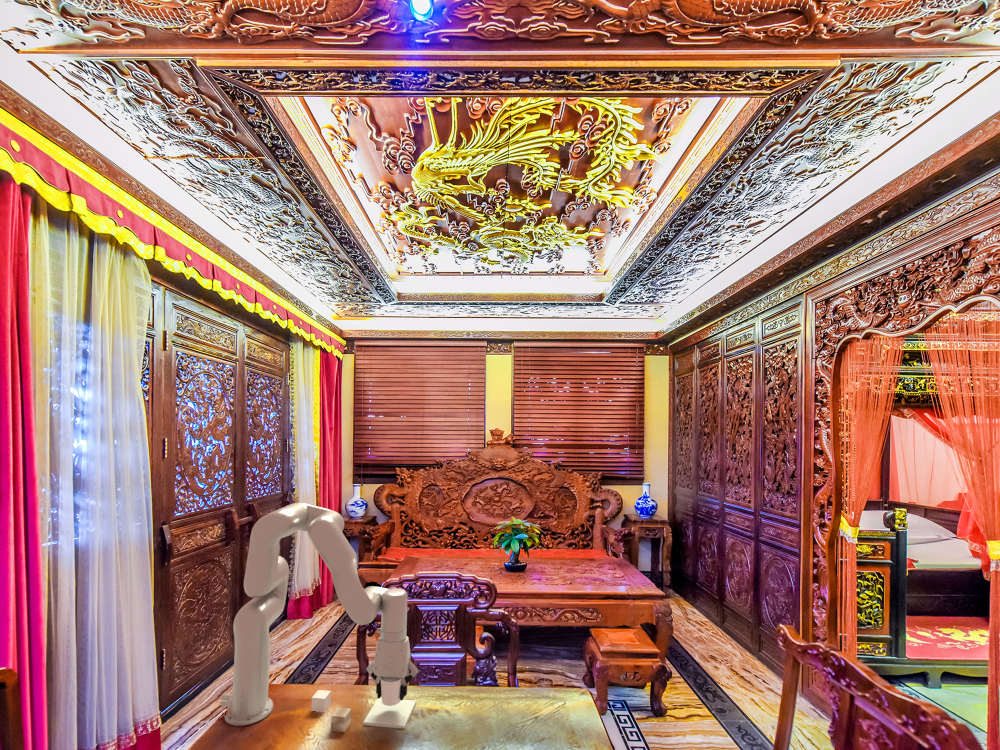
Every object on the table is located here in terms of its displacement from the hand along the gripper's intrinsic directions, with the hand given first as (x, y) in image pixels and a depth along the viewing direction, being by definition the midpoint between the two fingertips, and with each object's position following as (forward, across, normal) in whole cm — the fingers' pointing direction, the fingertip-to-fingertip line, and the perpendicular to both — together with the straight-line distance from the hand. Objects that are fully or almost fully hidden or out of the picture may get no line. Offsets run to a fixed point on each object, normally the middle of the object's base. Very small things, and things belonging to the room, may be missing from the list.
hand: (391, 696), depth 141 cm
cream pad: (+5, 0, 0) cm, 5 cm away
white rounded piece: (+1, 0, 0) cm, 1 cm away
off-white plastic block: (+5, -22, 0) cm, 22 cm away
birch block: (+5, -12, -8) cm, 15 cm away
